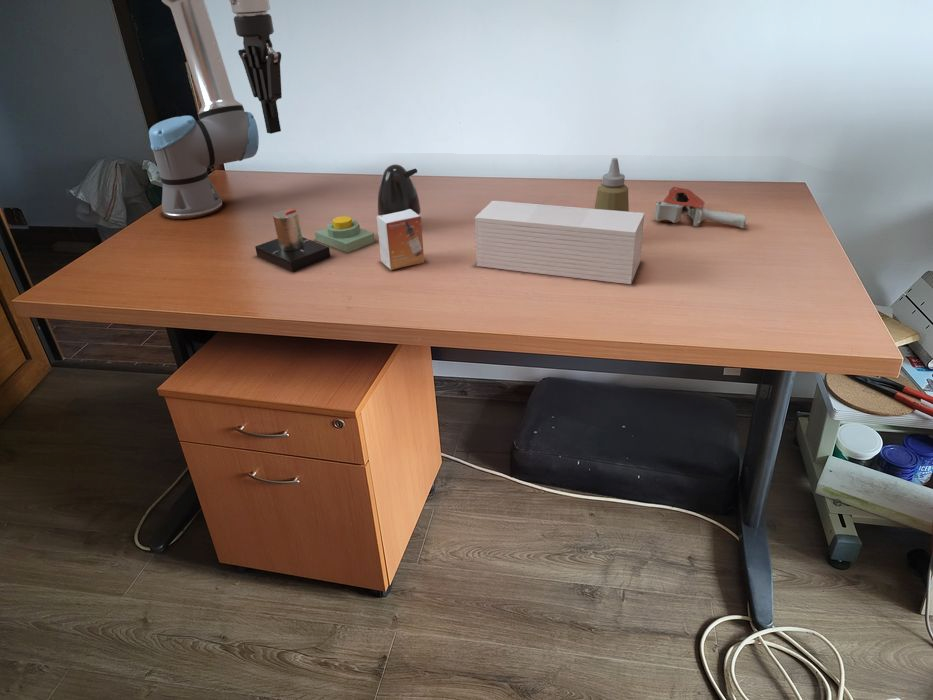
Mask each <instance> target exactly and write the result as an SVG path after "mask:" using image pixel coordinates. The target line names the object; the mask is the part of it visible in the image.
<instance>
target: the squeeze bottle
mask: <svg viewBox="0 0 933 700" xmlns="http://www.w3.org/2000/svg"><path fill="white" fill-rule="evenodd" d="M619 164H620V163H619V159H618V158H617V157H612V158H611V162H610V164H609V168H608V173H604V174H603V175H602V180H601V181H602V183H601V184H600V185H599V186H597V191H596V197H595V203H594V209H602V210H614V211H626V212H630V205H629V203H630V202H629V187H628V186H627V185H626V184H625V179H626V178H625V175H624V174H623V173H621V172H620V165H619Z"/></svg>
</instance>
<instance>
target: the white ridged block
mask: <svg viewBox="0 0 933 700" xmlns="http://www.w3.org/2000/svg"><path fill="white" fill-rule="evenodd" d="M474 222H475V223H474V230H475V232H474V234H475V248H476V250H475V252H476V254H475V255H476V256H475V257H476V258H475V259H476V267H480V268H489V269H496V270H497V269H498V270H506V271H507V270H508V271H515V272H523V273H530V274H531V273H532V274H540V275H547V276H557V277H565V278H574V279H582V280H583V279H584V280H591V281H598V282H599V281H600V282H609V283H616V284H624V285H625V284H626V285H632V283H633V280H634V278H635V276H636V273H637V271H638V268H639V266H640V263H641V256H642V255H641V254H642V244H643V234H644V223H645V212H639V211H638V212H637V211H629V212H626V211H614V210H602V209H595V208H591V207H590V208H589V207H575V206H562V205H551V204H541V203H540V204H539V203H529V202H528V203H527V202H518V201H517V202H516V201H515V202H514V201H505V200H491V201H490V202H489V203H487V205H486V206H485V207H484V208H483V209H482V210H480V212H479V213H478V214H477V215H476V216H475V217H474Z"/></svg>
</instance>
